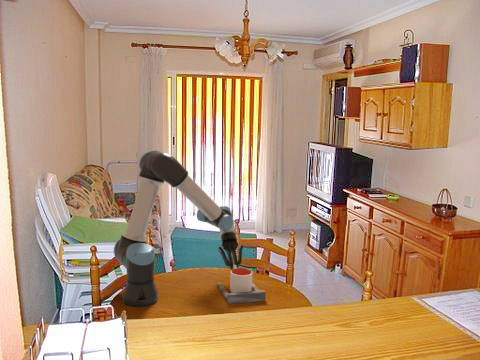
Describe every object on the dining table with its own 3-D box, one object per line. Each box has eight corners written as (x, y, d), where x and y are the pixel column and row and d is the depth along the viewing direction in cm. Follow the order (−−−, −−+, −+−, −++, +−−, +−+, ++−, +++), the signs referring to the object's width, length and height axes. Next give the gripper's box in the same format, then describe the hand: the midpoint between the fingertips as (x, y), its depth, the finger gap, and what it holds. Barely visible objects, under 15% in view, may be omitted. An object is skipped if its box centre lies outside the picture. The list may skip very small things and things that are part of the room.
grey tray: (217, 285, 197) (217, 277, 197) (250, 282, 202) (251, 274, 202) (228, 304, 178) (228, 295, 178) (265, 300, 183) (265, 291, 183)
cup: (230, 286, 196) (231, 266, 195) (251, 288, 196) (252, 268, 194) (228, 295, 186) (229, 274, 185) (250, 297, 186) (251, 276, 184)
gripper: (217, 231, 204) (225, 276, 191) (242, 230, 208) (251, 274, 195) (214, 239, 210) (221, 283, 197) (238, 237, 214) (247, 280, 201)
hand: (236, 278), depth 196 cm, fingers closed
